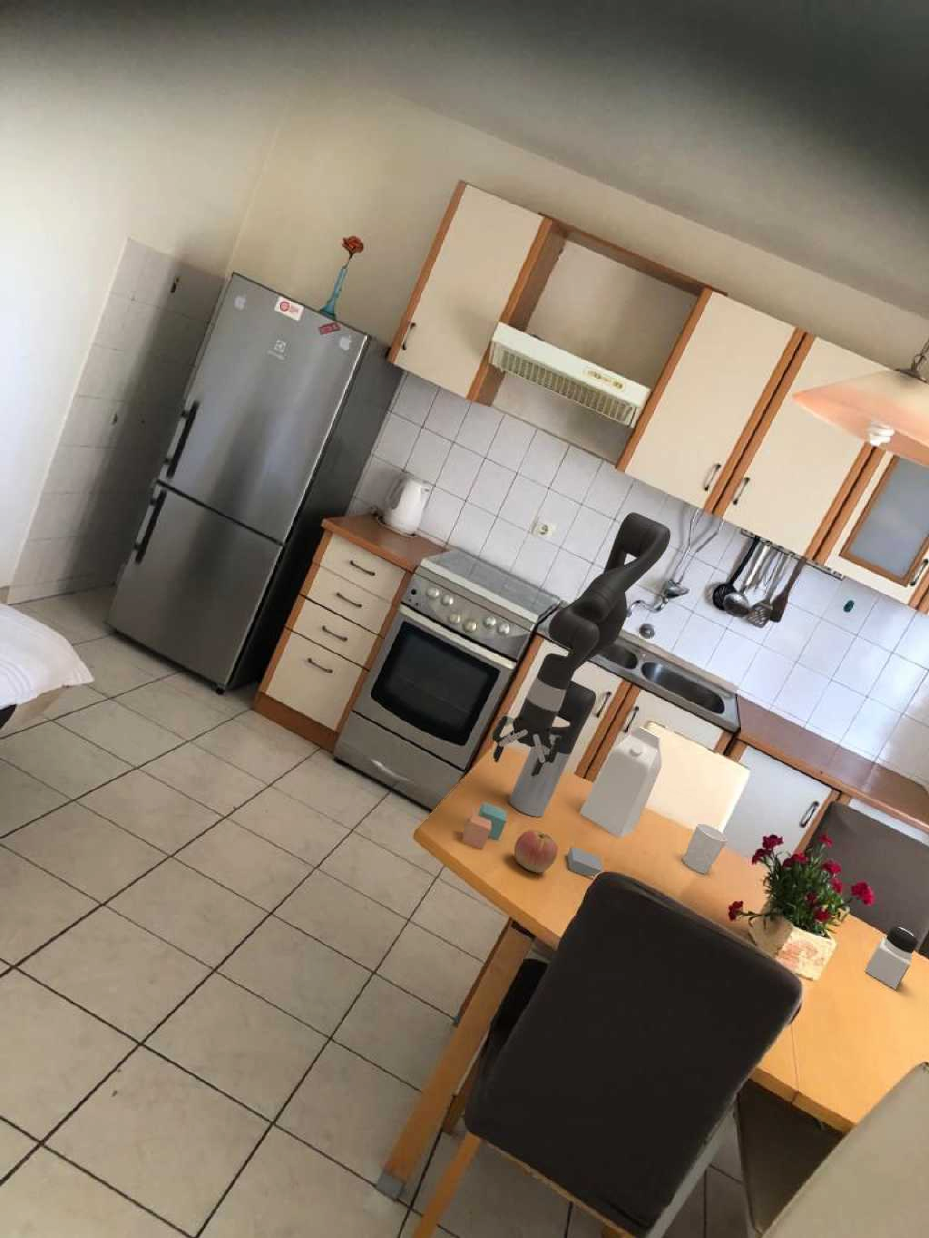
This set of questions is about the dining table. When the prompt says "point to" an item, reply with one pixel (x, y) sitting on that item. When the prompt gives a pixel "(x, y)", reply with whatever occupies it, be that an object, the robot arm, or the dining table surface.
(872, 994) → the dining table surface
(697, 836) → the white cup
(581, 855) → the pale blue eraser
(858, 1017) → the dining table surface
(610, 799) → the milk
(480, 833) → the brick terracotta
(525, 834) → the apple
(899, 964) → the medicine bottle
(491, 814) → the brick teal
